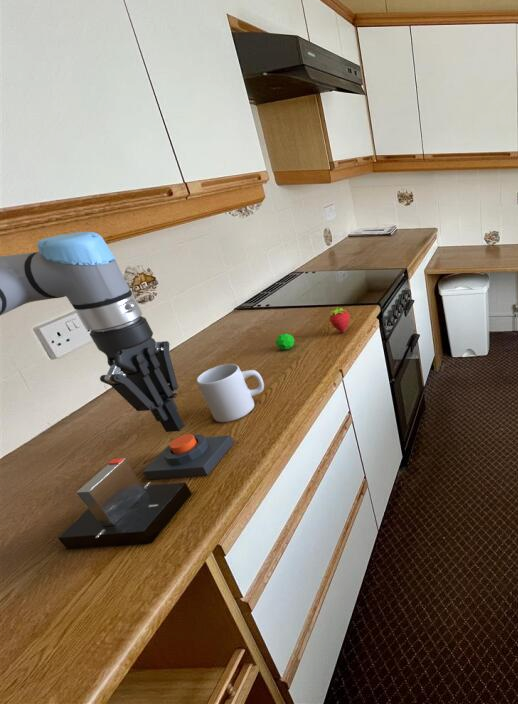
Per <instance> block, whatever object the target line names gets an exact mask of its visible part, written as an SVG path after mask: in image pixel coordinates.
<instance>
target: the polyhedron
mask: <svg viewBox="0 0 518 704" xmlns="http://www.w3.org/2000/svg"><path fill="white" fill-rule="evenodd" d="M294 344H295V338H294V336H292V334H289V333H281V334H280V335H278V337H276V340H275V345H276V347H277V348H278V349H280V350H281V351H283V350H287V351H288V350H290V349H292V347H293V346H294Z"/></svg>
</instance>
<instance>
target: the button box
mask: <svg viewBox="0 0 518 704" xmlns="http://www.w3.org/2000/svg"><path fill="white" fill-rule="evenodd" d="M192 435H193V436H194V438H195V439H196V441H197V444H196V445H195V446H194V447H193V448H192V449H190V450H189V451H187V452H184V453H181V454H174V453H173V451H172V450H171V448H170V444H169V445H167V446H166V447H165V448H164V450H162V452H160V453H159V454H158V456H156V457H155V458H154V459H153V460H152V461H151V462H150V463H149V464H148V465H147V466H146V467H145V468H144V469H143V470H142V474H143V476H144V477H145V479H146V480H147V481H148V480H161V479H175V478H185V477H187V478H188V477H200V476H208V475H209V474H210V473H211V471H213V469H214V468H215V467H216V465H217V464H218V463H219V462H220V460H221V459H222V458H223V456H225V455H226V454H227V452H228V451H229V450H230V448H231V447H232V446H233V445H234V441H233V438H232V436H231V435H219V436H218V435H217V436H204V435H203V434H201V433H197V434H195V433H193V434H192Z"/></svg>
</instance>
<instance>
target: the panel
mask: <svg viewBox="0 0 518 704" xmlns="http://www.w3.org/2000/svg"><path fill="white" fill-rule="evenodd" d="M143 487H144V488H145V490H146V492H145V493H144V494H143V495H142V496H141V498H140V499H139V500H138V501H137V502H136V503H135V504H134V505H133V506H132V507H131V508H130V509H129V510H128V511H127V512H126V513H125V514H124V515H123V516H122V517H121V519H120V520H119V521H118V522H117V523H116V524H115V525H114V526H101V524H100V523H99V522H98V520H97V519H96V518H95V516H94V515H93V514H92V513H91V511H90V510H89V509H88V508H87V509H86V510H84V512H83V513H82V514H81V515H80V516H79V517H77V519H76V520H74V521H73V522H72V523H71V524H70V525H69V526H68V527H67V528H66V529H65V530H64V531H63V532H62V533H61V534H60V535H58V537H57V540H58V541H59V542H60V543H61V545H63V547H64V548H65V549H66V550H67V551H69V550H70V551H71V550H84V549H95V548H96V549H97V548H108V547H109V548H110V547H123V546H124V547H125V546H137V545H147V544H152V543H153V542H154V541H155V540H156V539H157V537H158V536H159V535H160V533H162V531H163V530H164V529H165V528H166V526H167V525H168V524H169V523H170V522H171V520H172V519H173V518H174V517H175V515H176V514H177V513H178V512H179V511H180V509H181V508H182V507H183V505H184V504H185V503H186V502H187V501H188V500H189V498H190V497H191V496H192V495H193V493H192V491H191V490H190V488H189V486H188V484H187V483H186V482H176V483H175V482H174V483H162V484H152V482H151V481H148V482H147V483H146V484H145V485H143Z"/></svg>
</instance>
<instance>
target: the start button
mask: <svg viewBox="0 0 518 704" xmlns="http://www.w3.org/2000/svg"><path fill="white" fill-rule="evenodd" d="M193 435H194V434H191V433H187V434H182V435H179V436H177V437H176V438H175V439H173V440H172V441H171V442H170V444H169V445H170V448H171V450H172V451H173V453H174V454H181V453H184V452H187V451H189V450H190V449H192V448H193V447H194V446H195V445H196V444H197V441H196V439H195V438H194V436H193Z"/></svg>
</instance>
